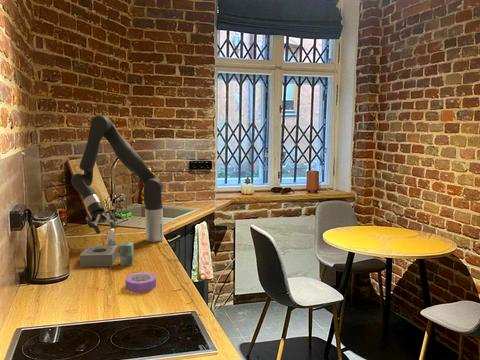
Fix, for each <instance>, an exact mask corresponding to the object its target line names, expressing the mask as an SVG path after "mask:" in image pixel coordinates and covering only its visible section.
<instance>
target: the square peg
mask: <svg viewBox="0 0 480 360" xmlns="http://www.w3.org/2000/svg"><path fill="white" fill-rule="evenodd" d="M119 251H120V252H119V254H120V256H119V257H120V266H132V265H133V264H134V262H135V261H134V260H135V259H134V258H135V257H134V256H135V255H134V242H133V241H131V242H130V241H129V242H126V241H125V242H121V244H120V245H119Z"/></svg>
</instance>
